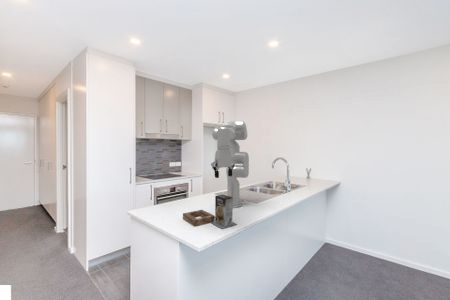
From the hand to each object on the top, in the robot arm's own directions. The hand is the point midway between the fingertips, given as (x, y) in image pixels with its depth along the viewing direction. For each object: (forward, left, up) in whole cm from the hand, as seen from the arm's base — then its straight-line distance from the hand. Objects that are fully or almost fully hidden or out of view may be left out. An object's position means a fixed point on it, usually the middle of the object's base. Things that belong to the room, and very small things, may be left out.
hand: (223, 176), depth 124 cm
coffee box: (0, 0, -28) cm, 28 cm away
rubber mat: (0, 0, -28) cm, 28 cm away
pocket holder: (+9, -15, -28) cm, 33 cm away
